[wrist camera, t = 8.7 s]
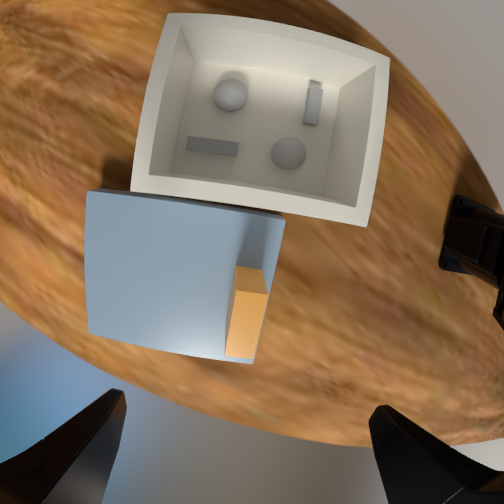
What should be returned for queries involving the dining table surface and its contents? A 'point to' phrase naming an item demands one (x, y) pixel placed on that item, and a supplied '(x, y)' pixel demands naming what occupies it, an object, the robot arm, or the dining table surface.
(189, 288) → the lid
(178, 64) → the parts tub
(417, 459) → the robot arm
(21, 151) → the dining table surface
